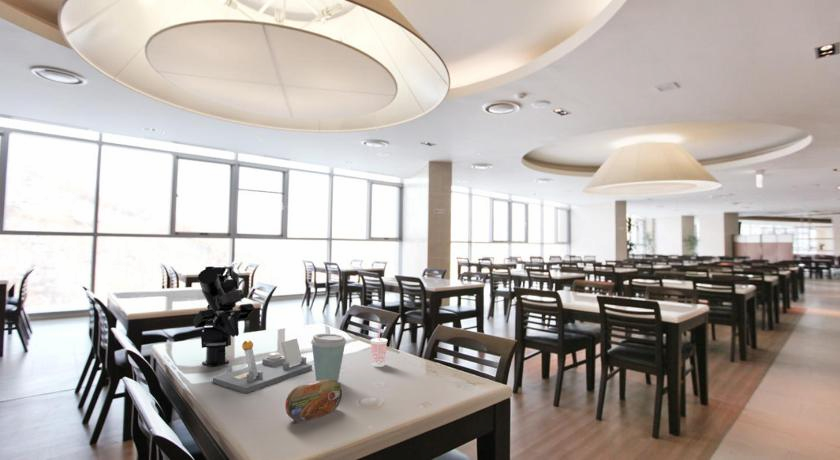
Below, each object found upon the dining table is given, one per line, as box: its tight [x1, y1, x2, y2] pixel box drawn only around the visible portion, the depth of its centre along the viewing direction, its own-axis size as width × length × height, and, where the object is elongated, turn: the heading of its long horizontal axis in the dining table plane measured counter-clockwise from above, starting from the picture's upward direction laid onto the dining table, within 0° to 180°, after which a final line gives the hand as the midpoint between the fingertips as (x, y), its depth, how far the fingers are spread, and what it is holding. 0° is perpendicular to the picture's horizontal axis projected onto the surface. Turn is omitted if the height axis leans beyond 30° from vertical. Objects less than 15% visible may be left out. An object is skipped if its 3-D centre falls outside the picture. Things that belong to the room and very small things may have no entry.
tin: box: [284, 379, 343, 423], centre depth 103 cm, size 15×3×8 cm, turn 134°
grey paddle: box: [280, 338, 303, 365], centre depth 139 cm, size 1×6×8 cm, turn 150°
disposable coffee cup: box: [310, 333, 347, 383], centre depth 126 cm, size 11×11×15 cm
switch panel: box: [212, 355, 313, 394], centre depth 132 cm, size 16×26×4 cm, turn 150°
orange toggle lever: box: [241, 340, 258, 377], centre depth 125 cm, size 3×3×11 cm
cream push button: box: [268, 352, 281, 361], centre depth 140 cm, size 4×4×2 cm
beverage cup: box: [370, 325, 388, 368], centre depth 146 cm, size 6×6×14 cm
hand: (236, 335), depth 129 cm, fingers closed
